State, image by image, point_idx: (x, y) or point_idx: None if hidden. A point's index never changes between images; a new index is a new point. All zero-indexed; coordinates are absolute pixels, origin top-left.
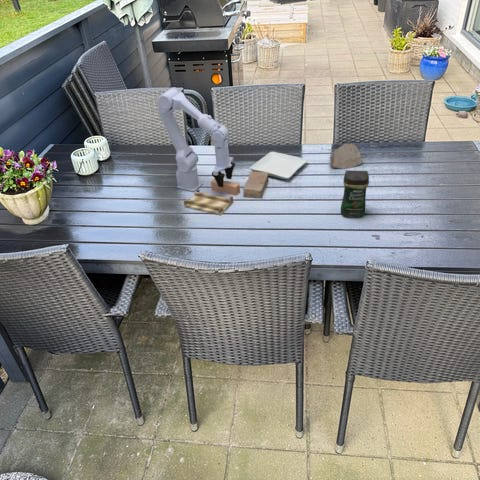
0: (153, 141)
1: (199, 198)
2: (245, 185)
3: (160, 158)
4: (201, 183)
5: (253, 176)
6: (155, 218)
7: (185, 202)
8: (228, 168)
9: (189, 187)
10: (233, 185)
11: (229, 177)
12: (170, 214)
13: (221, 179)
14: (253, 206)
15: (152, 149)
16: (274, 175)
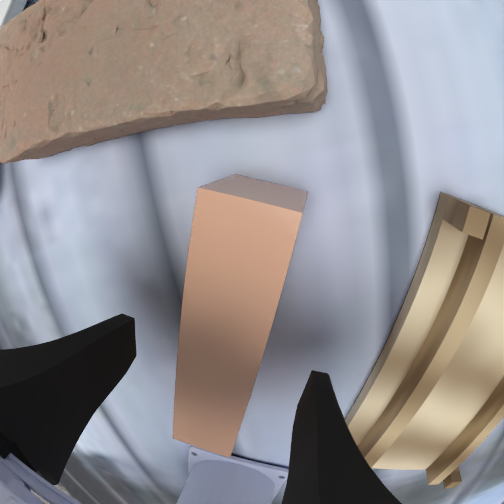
0: (60, 489)
1: (396, 443)
2: (204, 97)
3: (105, 501)
4: (198, 451)
5: (32, 103)
6: (493, 484)
7: (459, 476)
8: (53, 416)
9: (272, 492)
10: (259, 257)
11: (124, 341)
12: (488, 468)
13: (371, 474)
14: (454, 4)
15: (84, 500)
16: (13, 13)
